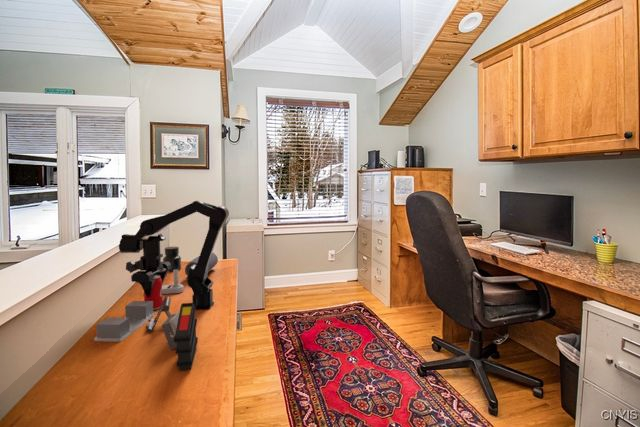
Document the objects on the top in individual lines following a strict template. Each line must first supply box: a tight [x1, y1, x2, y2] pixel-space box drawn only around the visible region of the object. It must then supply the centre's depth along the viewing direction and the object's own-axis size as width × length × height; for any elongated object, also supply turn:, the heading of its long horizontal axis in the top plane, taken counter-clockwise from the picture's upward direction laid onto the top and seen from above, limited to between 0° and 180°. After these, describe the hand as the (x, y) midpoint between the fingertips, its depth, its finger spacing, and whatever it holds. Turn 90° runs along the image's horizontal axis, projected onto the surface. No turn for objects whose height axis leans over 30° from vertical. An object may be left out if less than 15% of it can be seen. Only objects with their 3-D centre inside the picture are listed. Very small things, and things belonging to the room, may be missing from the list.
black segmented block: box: [174, 302, 199, 372], centre depth 90 cm, size 4×13×15 cm, turn 13°
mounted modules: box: [95, 300, 154, 338], centre depth 111 cm, size 7×20×4 cm, turn 0°
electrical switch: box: [161, 310, 180, 351], centre depth 99 cm, size 9×5×9 cm, turn 2°
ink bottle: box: [162, 246, 182, 272], centre depth 182 cm, size 10×9×12 cm
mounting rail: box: [93, 310, 156, 343], centre depth 111 cm, size 8×21×1 cm, turn 0°
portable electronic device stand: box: [146, 296, 172, 334], centre depth 111 cm, size 9×8×8 cm
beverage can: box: [143, 275, 164, 311], centre depth 127 cm, size 6×6×12 cm
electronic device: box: [162, 270, 185, 295], centre depth 145 cm, size 5×10×15 cm
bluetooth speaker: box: [184, 252, 219, 276], centre depth 172 cm, size 23×9×10 cm, turn 178°
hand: (153, 293), depth 127 cm, fingers open, 7 cm apart
